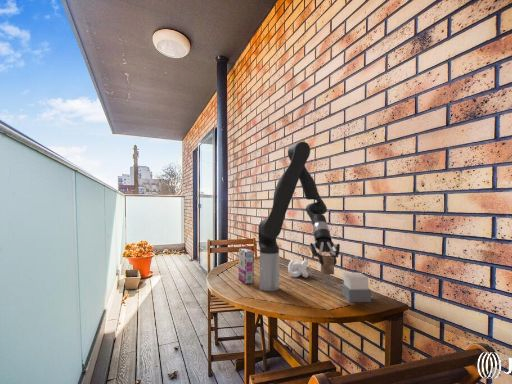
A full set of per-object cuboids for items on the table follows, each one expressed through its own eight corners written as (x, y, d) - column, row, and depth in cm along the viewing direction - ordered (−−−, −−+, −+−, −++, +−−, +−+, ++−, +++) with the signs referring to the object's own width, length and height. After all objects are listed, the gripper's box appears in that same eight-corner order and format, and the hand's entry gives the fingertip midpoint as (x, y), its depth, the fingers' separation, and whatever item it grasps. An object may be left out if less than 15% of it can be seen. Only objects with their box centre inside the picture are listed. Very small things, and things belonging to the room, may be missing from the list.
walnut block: (323, 274, 106) (323, 257, 107) (320, 271, 111) (320, 255, 111) (334, 274, 106) (334, 257, 107) (331, 271, 111) (331, 255, 111)
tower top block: (350, 289, 104) (350, 277, 104) (344, 284, 111) (343, 272, 112) (368, 289, 104) (368, 277, 104) (360, 284, 111) (360, 272, 112)
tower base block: (349, 302, 103) (349, 290, 103) (342, 294, 112) (341, 283, 112) (371, 302, 103) (371, 290, 103) (362, 295, 112) (362, 283, 112)
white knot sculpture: (286, 278, 137) (286, 262, 138) (288, 273, 149) (288, 257, 149) (307, 279, 135) (307, 263, 135) (308, 274, 146) (308, 258, 147)
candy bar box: (254, 283, 128) (254, 251, 129) (245, 284, 126) (245, 251, 127) (246, 277, 138) (246, 248, 139) (238, 278, 136) (238, 248, 137)
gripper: (307, 227, 117) (313, 258, 104) (338, 228, 117) (347, 259, 104) (305, 237, 122) (310, 268, 109) (334, 238, 122) (343, 269, 109)
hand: (328, 264), depth 107 cm, fingers closed on walnut block, 4 cm apart
